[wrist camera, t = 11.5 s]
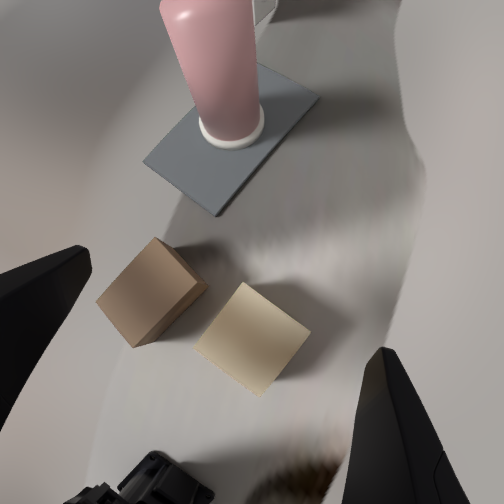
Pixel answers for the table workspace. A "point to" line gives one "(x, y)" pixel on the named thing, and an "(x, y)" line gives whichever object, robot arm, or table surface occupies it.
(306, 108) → the slate mat
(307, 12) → the table surface
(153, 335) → the walnut block
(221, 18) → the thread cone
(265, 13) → the ink cartridge box
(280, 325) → the birch block
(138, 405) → the table surface
